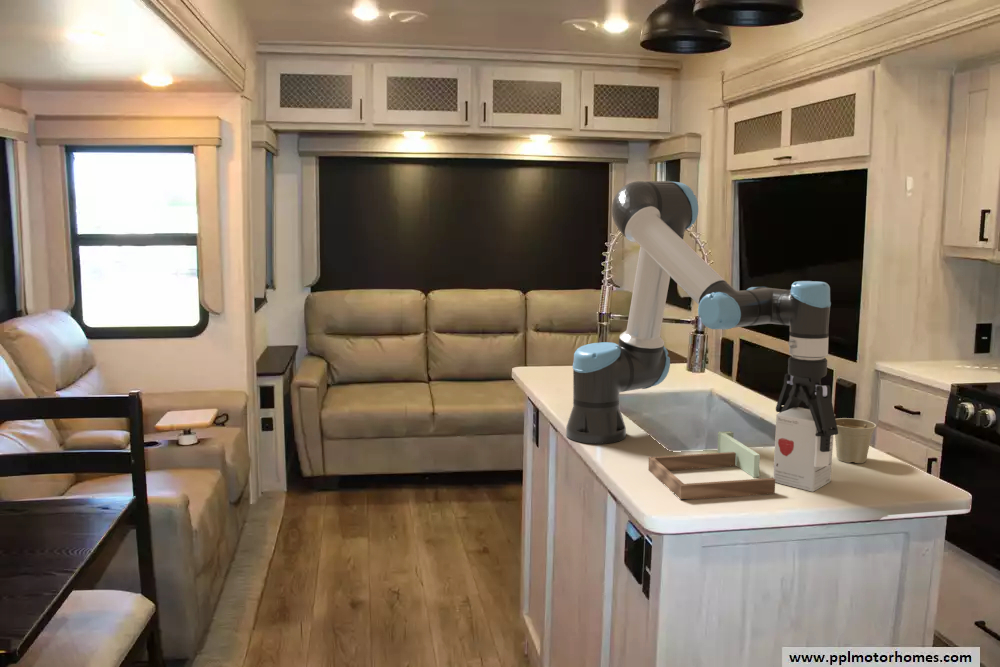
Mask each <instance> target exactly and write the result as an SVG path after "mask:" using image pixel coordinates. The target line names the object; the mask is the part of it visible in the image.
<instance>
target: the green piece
mask: <svg viewBox="0 0 1000 667" xmlns="http://www.w3.org/2000/svg"><path fill="white" fill-rule="evenodd" d="M716 450H717V451H716V453H724V452H735V453H736V463H735V467H738V468H739V469H741V470H742V471H743V472H744V473H747V474H748V475H749V476H750V477H752V478H753V479H756V478H759V477H760V461H761V460H760V459H761V458H760V456H761V455H760V454H759V453H758V452H756V451H755V450H754V449H752V448H750V447H748V446H746V445H745V444H743V443H742V442H740V441H739V440H738V439H736V438H734V432H733V431H732V430H728V431H718V432H717V449H716Z"/></svg>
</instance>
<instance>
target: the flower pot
mask: <svg viewBox="0 0 1000 667" xmlns="http://www.w3.org/2000/svg"><path fill="white" fill-rule="evenodd" d="M835 419H836V424H837V429H838V434H837V435H834V438H835V450H836V451H835V452H836V453H835V454H836V458H837V460H838V461H841V462H844V463H855V464H862V463H866V461H867V460H868V459H867V458H868V453H869V448H870V444H871V441H872V440H871V439H872V436H873V434H874V431H875V429H876V428H877V424H876V423H875V422H872V421H869V420H866V419H859V418H852V417H851V418H849V417H848V418H847V417H842V418H841V417H840V418H835Z"/></svg>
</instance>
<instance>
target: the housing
mask: <svg viewBox="0 0 1000 667" xmlns="http://www.w3.org/2000/svg"><path fill="white" fill-rule="evenodd" d="M735 463H736V453H735V452H724V453H718V452H709V453H694V454H678V455H662V456H660V455H659V456H648V471H649V472H650V473H651V474H652V475H653V476H654V477H655V478H656V479H657V480H659V481H660V482H661V483H662V484H663V485H664V484H665V485H666V486H667V487H668V488H669V489H670V490H671V491H672V492H674V493H675V494H676V495H677V496H678V497H679V498H680V499H692V500H704V499H706V498H707V499H716V498H717V499H719V498H731V497H732V498H734V497H746V496H761V495H762V496H763V495H775V493H776V482H775V479H774V478H773V477H768V478H765V477H764V478H753V479H739V480H738V479H737V480H723V481H722V480H720V481H706V482H704V481H703V482H692V483H690V482H689V483H684V482H683V481H681V480H680V479H679V478H678V477H677V476H676V475H675V474H674V473H672V472H671V471H679V470H695V469H696V470H697V469H711V468H725V467H727V468H729V467H736V465H735ZM665 485H664V486H665ZM666 486H665V487H666ZM667 487H666V488H667ZM668 488H667V489H668ZM669 489H668V490H669ZM670 490H669V491H670ZM671 491H670V492H671ZM672 492H671V493H672ZM675 494H674V495H675ZM676 495H675V496H676ZM677 496H676V497H677ZM678 497H677V498H678ZM679 498H678V499H679ZM680 499H679V500H680ZM707 499H706V500H707Z"/></svg>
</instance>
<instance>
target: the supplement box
mask: <svg viewBox="0 0 1000 667" xmlns="http://www.w3.org/2000/svg"><path fill="white" fill-rule="evenodd" d="M834 415H835V416H836V414H835V413H834ZM775 416H776V418H775V436H774V437H775V439H774V457H773V473H772V475H773V477H772V478H774V479H775V484H776V483H777V484H781V485H785V486H789V487H792V488H797V489H800V490H805V491H808V492H811V493H812V492H815V491H817V490H819V489H820V488H823V487H824V486H825V485H827V484H828V483H831V479H832V464H833V462H832V461H833V446H834V435H831V437H830V450H829V466H825V467H815V466H814V456H815V434H816V433H818V431H817V428H816V426H815V422H814V420H813V417H812V414H811V411H810V408H804V407H799V406H798V407H795V408H791V409H789V410H786V411H783V412H780V413H779V412H777V414H776V415H775ZM822 429H823V428H822ZM831 429H832V428H831Z"/></svg>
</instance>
